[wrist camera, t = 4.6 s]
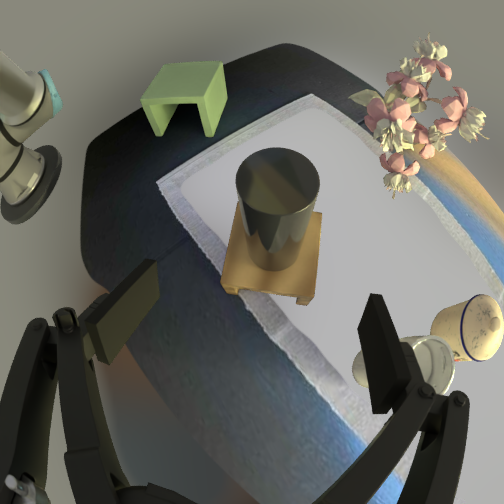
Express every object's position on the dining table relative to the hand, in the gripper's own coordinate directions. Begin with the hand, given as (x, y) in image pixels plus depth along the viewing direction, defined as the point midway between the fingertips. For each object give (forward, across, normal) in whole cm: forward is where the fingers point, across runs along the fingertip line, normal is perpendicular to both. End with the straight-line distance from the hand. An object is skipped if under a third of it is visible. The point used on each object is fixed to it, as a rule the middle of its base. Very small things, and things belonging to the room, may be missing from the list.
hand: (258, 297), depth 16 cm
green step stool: (+41, +20, -11) cm, 47 cm away
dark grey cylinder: (+17, 0, +4) cm, 18 cm away
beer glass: (+12, -16, +18) cm, 27 cm away
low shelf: (+22, 0, +8) cm, 23 cm away
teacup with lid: (+16, -31, +14) cm, 38 cm away
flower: (+37, -20, -7) cm, 43 cm away
